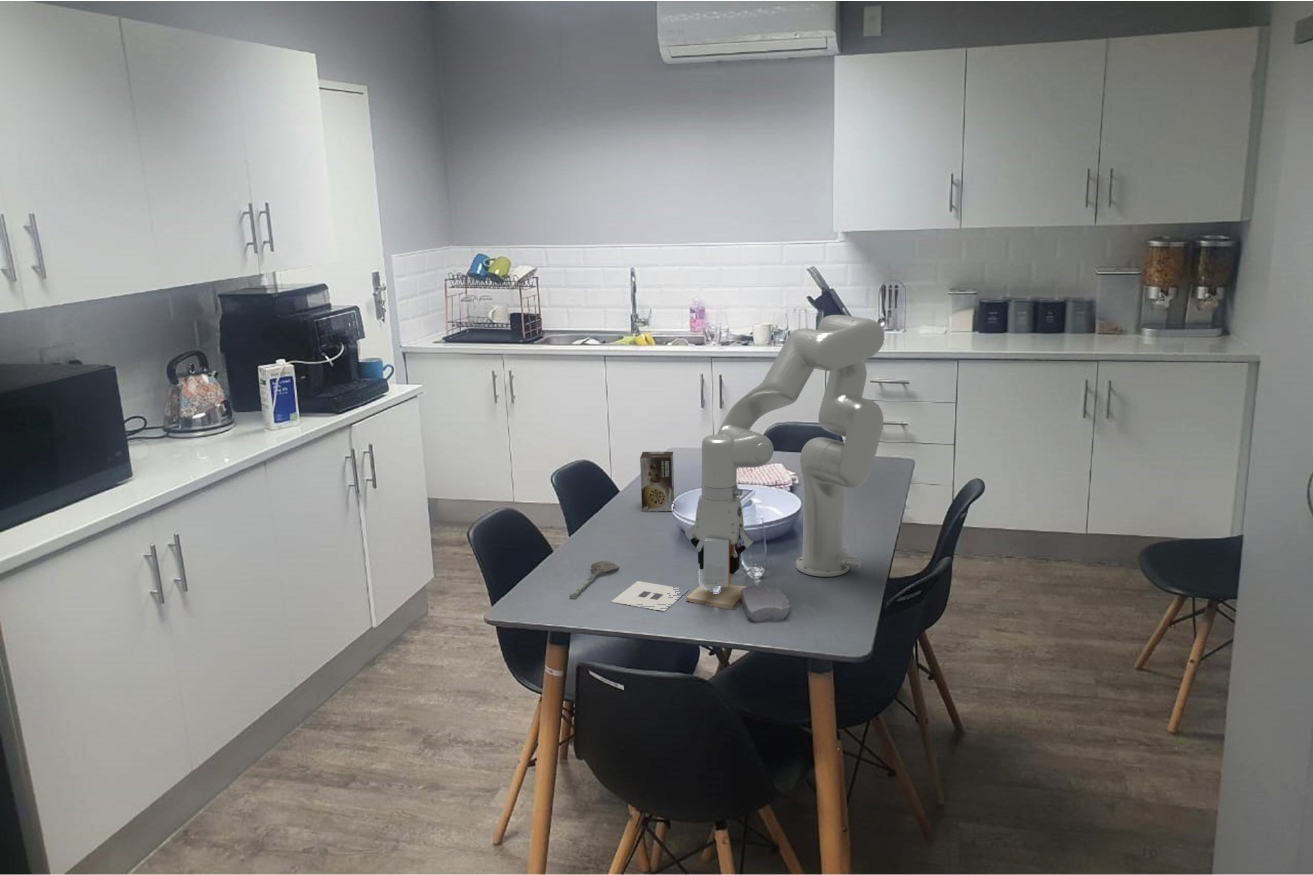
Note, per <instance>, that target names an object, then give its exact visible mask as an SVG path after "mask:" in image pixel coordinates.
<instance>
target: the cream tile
mask: <svg viewBox="0 0 1313 875" xmlns="http://www.w3.org/2000/svg"><path fill="white" fill-rule="evenodd" d="M673 587H674V586H670V585H665V584H658V583H651V582H646V581H639V580H637V581H636V582H634V583H633V584H632V585H630V586H629V587H628V588H627V589H625V590H624V591H623V592H622V593H620V594H619V595H618V596H616V597H615V598H614V599H612V600H611V601H610V603H614V604H617V603H618V605H623V604H627V605H626V606H628V605H631V606H630V607H634V606H638V607H637V608H639V607H640V606H655V607H644V608H643V609H645V608H649V609H648V610H650V609H653V610H652V611H656V610H662V611H665V610H666V611H668V609H660V608H668V607H666V606H671V605H668V604H673V605H674V604H676V603H677V602H678V601H677V600H675V599H679V598H677V597H681V596H673V595H677V593H680V592H676V593H675V591H679V590H673V589H679V588H680V587H676V588H673ZM653 593H656V594H653ZM667 593H670V594H667ZM662 595H663V596H662ZM669 595H671V596H669ZM668 597H673V598H668ZM681 598H682V597H681ZM679 600H680V599H679ZM676 601H677V602H676ZM637 604H643V605H637ZM657 604H666V605H657ZM671 607H672V606H671ZM666 611H665V612H666Z"/></svg>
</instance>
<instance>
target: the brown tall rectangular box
mask: <svg viewBox="0 0 1313 875" xmlns="http://www.w3.org/2000/svg"><path fill="white" fill-rule="evenodd" d="M639 462H640V463H639V464H640V465H639V466H640V487H641V488H640V489H641V490H640V492H641V493H640V494H641V495H640V496H641V512H643V513H645V512H650V511H656V512H658V511H670V509H671V505H672V504H673V501H674V502H675V486H674V485H675V484H674V483H675V481H674V480H675V479H674V478H675V477H674V475H675V474H674V472H675V471H674V452H673V451H642V452H641V455H640V457H639Z"/></svg>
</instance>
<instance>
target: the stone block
mask: <svg viewBox="0 0 1313 875" xmlns="http://www.w3.org/2000/svg"><path fill="white" fill-rule="evenodd" d="M740 603H741V605H742V608H743V610H744V612H745V615H746V618H747V620H748V621H750V622H752V623H753V622H754V623H765V622H781V621H783V620H784V618H786V617H787V615H788V614H789V612H790V609H791V608H790V601H789V599H788V598H787V596H786V595H785V594H784V592H783V591H782V590H781V589H779V588H776V587H773V586H765V585H757V584H756V585H750V586H745V588H743V589H742V590H741V602H740Z"/></svg>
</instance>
